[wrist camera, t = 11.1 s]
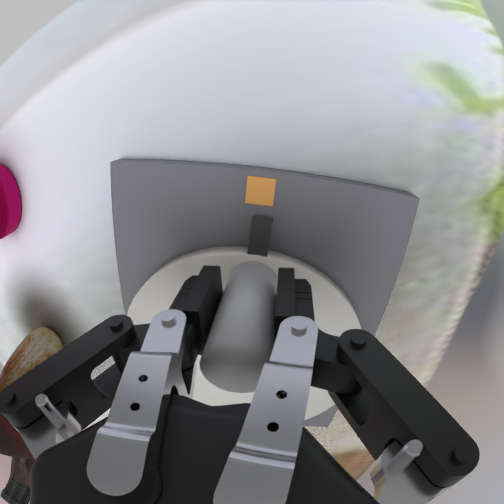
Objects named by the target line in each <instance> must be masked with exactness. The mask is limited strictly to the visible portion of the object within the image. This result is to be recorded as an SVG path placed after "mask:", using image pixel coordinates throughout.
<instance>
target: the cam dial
mask: <svg viewBox="0 0 504 504" xmlns="http://www.w3.org/2000/svg"><path fill="white" fill-rule="evenodd" d="M272 223H273V219H271V218H265V217H258V216H253V217H252V221H251V229H250V236H249V244H248V247H246V246H219V247H213V248H206V249H201V250H197V251H194V252H190V253H187V254H184V255H182V256H180V257H178V258H176V259H173V260H171V261H170V262H168V263H167V264H165V265H164V266H162V267H161V268H159V269H158V270H157V271H156V272H155V273H154V274H153V275H151V276H150V277H149V278H148V280H147V281H146V282H145V284H144V285H143V286H142V287H141V289H140V290H139V291H138V293H137V294H136V296H135V297H134V298H133V300H132V303H131V305H130V307H129V309H128V313H127V316H128V317H130V318H131V319H132V322H133V325H140V324H148V323H151V321H152V318H153V317H154V316H155V315H156V314H157V313H159V312H161V311H164V310H168V309H169V308H170V306H171V304H172V302H173V301H174V299H175V297H176V295H177V294H178V292H179V290H180V289H181V287H182V285H183V283H184V282H185V280H187V279H188V278H189V277H191V276H192V275H199V273H200V271H201V269H202V267H203V266H204V265H209V266H220V269H221V277H222V288H223V294H222V297H221V300H220V303H219V306H218V309H217V311H216V314H215V317H214V320H213V323H212V326H211V329H210V332H209V335H208V338H207V341H206V344H205V347H204V350H203V353H202V355H198V356H197V359H196V365H197V370H196V377H195V385H194V392H193V400H196V401H199V402H201V403H204V404H207V405H210V406H221V405H231V404H240V403H251V402H252V399H253V396H254V393H255V390H256V387H257V384H258V381H259V378H260V375H261V372H262V369H263V366H264V364H265V362H266V361H269V360H270V357H271V354H272V350H273V347H274V334H275V308H276V295H277V281H278V268H294V274H295V279H306V280H307V281H308V282H309V283H310V285H311V289H312V300H313V308H314V318H315V323H316V324H317V326H318V328H319V329H320V330H321V331H323V332H325V333H327V334H330V335H334V336H338V337H340V336H341V334H342V333H343V332H345V331H347V330H350V329H361V325H360V322H359V319H358V316H357V314H356V311H355V309H354V307H353V305H352V304H351V302H350V300H349V299H348V297H347V296H346V295H345V294H344V292H343V291H342V290H341V289H340V287H339V286H337V285H336V284H335V283H334V282H333V281H332V280H331V279H330V278H329V277H328V276H326V275H325V274H323V273H322V272H320V271H319V270H317V269H316V268H314V267H313V266H311V265H309V264H307V263H305V262H303V261H301V260H299V259H297V258H294V257H291V256H288V255H285V254H282V253H280V252H276V251H271V250H268V248H269V242H270V236H271V229H272ZM361 330H362V329H361ZM333 405H335V403H334V401H333V400H332V399H331V397H330V396H329V394H328V390H324V389H320V388H316V387H312V386H310V391H309V396H308V402H307V408H306V413H305V419H304V420H307V419H309V418H312V417H314V416H316V415H318V414H320V413H322V412H324V411H326V410H327V409H329V408H330V407H332V406H333Z"/></svg>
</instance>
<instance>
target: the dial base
mask: <svg viewBox="0 0 504 504" xmlns="http://www.w3.org/2000/svg"><path fill="white" fill-rule="evenodd" d="M111 195H112V212H113V225H114V236H115V246H116V255H117V263H118V271H119V278H120V285H121V291H122V297H123V303H124V309H125V314H126V316H127V313H128V309H129V307H130V305H131V303H132V300H133V298H134V297H135V296H136V294H137V293H138V291H139V290H140V289H141V287H142V286H143V285H144V284H145V282H146V281H147V280H148V278H149V277H150V276H151V275H153V274H154V273H155V272H156V271H157V270H158V269H159V268H161V267H162V266H164V265H165V264H167V263H168V262H170V261H171V260H173V259H176V258H178V257H180V256H182V255H184V254H187V253H190V252H194V251H197V250H201V249H206V248H213V247H219V246H246V247H248V244H249V236H250V229H251V221H252V217H253V216H258V217H265V218H271V219H273V223H272V229H271V236H270V242H269V248H268V250H271V251H276V252H280V253H282V254H285V255H288V256H291V257H294V258H297V259H299V260H301V261H303V262H305V263H307V264H309V265H311V266H313V267H314V268H316V269H317V270H319V271H320V272H322V273H323V274H325V275H326V276H328V277H329V278H330V279H331V280H332V281H333V282H334V283H335V284H336V285H337V286H339V287H340V289H341V290H342V291H343V292H344V294H345V295H346V296H347V297H348V299H349V300H350V302H351V304H352V305H353V307H354V309H355V311H356V314H357V316H358V319H359V322H360V325H361V329H362V330H365V331H367V332H369V333H371V334H372V335H373V336H374V335H375V332H376V330H377V328H378V325H379V323H380V321H381V318H382V316H383V313H384V311H385V308H386V305H387V303H388V300H389V298H390V295H391V292H392V289H393V287H394V284H395V281H396V278H397V275H398V272H399V269H400V266H401V263H402V260H403V257H404V254H405V250H406V247H407V244H408V240H409V237H410V233H411V230H412V226H413V223H414V219H415V215H416V211H417V207H418V203H419V198H418V197H416V196H415V195H413V194H411V193H408V192H404V191H399V190H395V189H390V188H385V187H381V186H376V185H371V184H366V183H361V182H355V181H350V180H344V179H339V178H333V177H327V176H321V175H314V174H308V173H301V172H294V171H286V170H279V169H271V168H262V167H253V166H243V165H233V164H222V163H209V162H195V161H177V160H152V159H119V160H116V161H112V162H111ZM337 410H338V407H337V406H336V404H335V405H333V406H332V407H330V408H329V409H327V410H326V411H324V412H322V413H320V414H318V415H316V416H314V417H312V418H309V419H307V420H304V424H303V426H322V427H328V425H329V423H330V422H331V420H332V418H333V417H334V415H335V413H336V411H337Z"/></svg>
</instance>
